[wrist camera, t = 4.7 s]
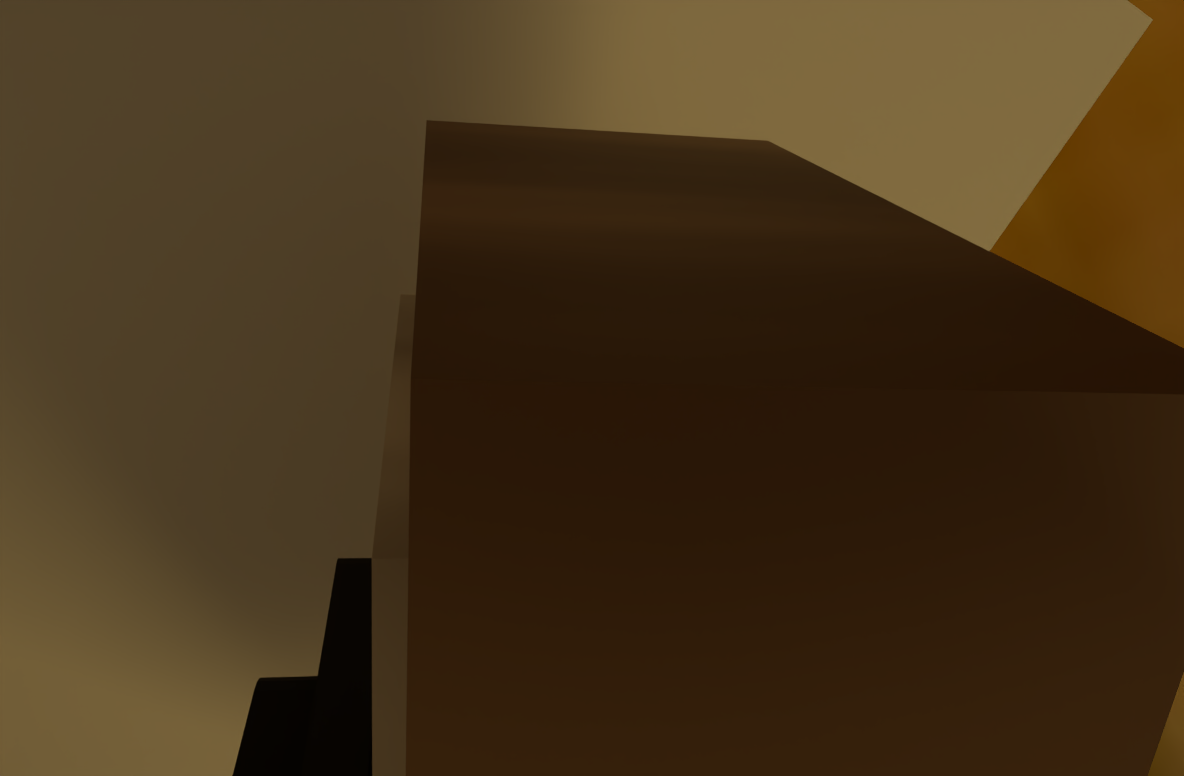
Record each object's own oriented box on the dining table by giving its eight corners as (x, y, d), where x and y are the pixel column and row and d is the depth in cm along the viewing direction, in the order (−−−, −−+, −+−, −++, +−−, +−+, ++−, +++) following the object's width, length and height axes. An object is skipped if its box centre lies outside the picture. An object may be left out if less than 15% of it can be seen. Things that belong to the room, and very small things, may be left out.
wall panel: (458, 943, 20) (459, 1001, 19) (-679, 659, 15) (-769, 718, 13) (1098, 12, 14) (1152, 19, 13) (-388, -1087, 9) (-506, -1234, 8)
